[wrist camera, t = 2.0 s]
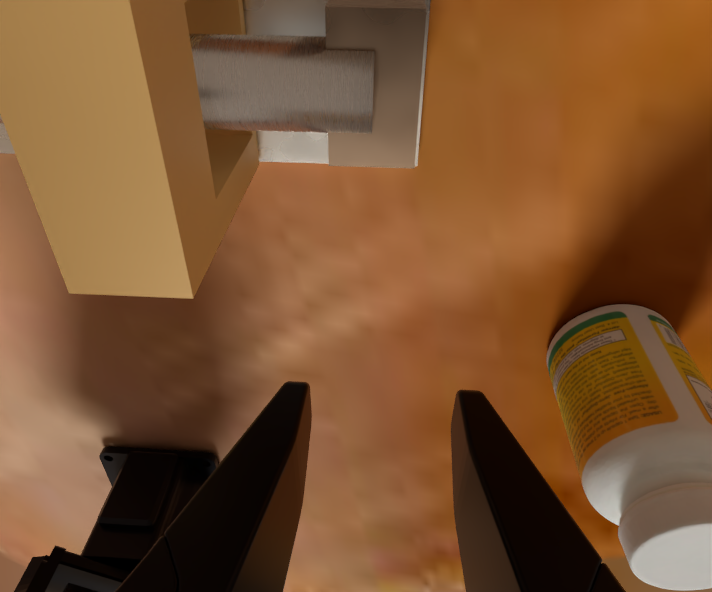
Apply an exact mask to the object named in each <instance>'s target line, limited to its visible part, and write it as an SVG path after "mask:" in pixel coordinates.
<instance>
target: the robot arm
mask: <svg viewBox="0 0 712 592" xmlns="http://www.w3.org/2000/svg"><path fill="white" fill-rule="evenodd" d="M311 418H312V415H311V398H310V386H309V384H308V383H306V382H292V381H288V382H286V383H285V384H284V385H283V386H282V387H281V388H280V389H279V391H278V392H277V393H276V394H275V396H274V397H273V398H272V399H271V401H270V402H269V403H268V404H267V406H266V407H265V408H264V409H263V411H262V412H261V413H260V414H259V416H258V417H257V418H256V419H255V421H254V422H253V423H252V424H251V425H250V427H249V428H248V429H247V430H246V432H245V433H244V434H243V435H242V437H241V438H240V439H239V440H238V442H237V443H236V444H235V445H234V447H233V448H232V449H231V450H230V452H229V453H228V454H227V455H226V457H225V458H224V459H223V460H222V461H221V463H220V464H218V460H217V457H216V456H215V455H214V454H212V453H209V452H196V451H177V450H159V449H141V448H122V447H105V448H103V450H102V452H101V454H100V460H101V462H102V464H103V467H104V469H105V471H106V473H107V476H108V478H109V480H110V482H111V485H112V488H111V490H110V492H109V495H108V497H107V499H106V501H105V503H104V505H103V507H102V509H101V511H100V514H99V516H98V519H97V521H96V524H95V526H94V528H93V530H92V532H91V534H90V536H89V538H88V541H87V543H86V545H85V547H84V549H83V551H82V553H81V555H77V554H74V553H71V552H68V551H65V550H66V549H65V548H62V547H59V546H55V547H54V549H53V551H52V553H51V555H50V556H47V555H46V556H41V557H33V558H32V559H31V561H30V563H29V565H28V567H27V569H26V571H25V572H24V574H23V576H22V578H21V580H20V582H19V584H18V585H17V587H16V589H15V591H14V592H283V588H284V584H285V580H286V575H287V571H288V567H289V562H290V558H291V554H292V549H293V545H294V541H295V536H296V532H297V528H298V523H299V519H300V514H301V509H302V503H303V496H304V487H305V478H306V469H307V459H308V450H309V440H310V431H311ZM451 447H452V474H453V501H454V515H455V523H456V530H457V537H458V543H459V549H460V556H461V562H462V568H463V575H464V581H465V587H466V592H626V591H625V590H624V589H623V587H622V586H621V585H620V583H619V582H618V580H617V579H616V578H615V576H614V575H613V573H612V572H611V571H610V569H609V568H608V566H607V565H606V564H604V563H602V564H601V562H602V559H601V557H600V556H599V554H598V553H597V551H596V550H595V549H594V547H593V546H592V544H591V543H590V542H589V540H588V539H587V537H586V536H585V535H584V533H583V532H582V530H581V529H580V528H579V526H578V525H577V524H576V522H575V521H574V519H573V518H572V517H571V515H570V514H569V512H568V511H567V510H566V508H565V507H564V505H563V504H562V503H561V501H560V500H559V498H558V497H557V496H556V494H555V493H554V492H553V490H552V489H551V487H550V486H549V485H548V483H547V482H546V480H545V479H544V478H543V476H542V475H541V473H540V472H539V471H538V469H537V468H536V466H535V465H534V464H533V462H532V461H531V460H530V458H529V457H528V455H527V454H526V453H525V451H524V450H523V448H522V447H521V446H520V444H519V443H518V441H517V440H516V439H515V437H514V436H513V434H512V433H511V432H510V430H509V429H508V427H507V426H506V425H505V423H504V422H503V421H502V419H501V418H500V416H499V415H498V414H497V412H496V411H495V409H494V408H493V407H492V405H491V404H490V402H489V401H488V400H487V398H486V397H485V395H484V394H483V393H482V392H480V391H476V390H459V391H458V392H457V394H456V398H455V404H454V410H453V416H452V422H451Z"/></svg>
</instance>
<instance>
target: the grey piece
mask: <svg viewBox="0 0 712 592" xmlns="http://www.w3.org/2000/svg"><path fill="white" fill-rule="evenodd" d="M242 2H243V12H244V21H245V31H246V35H231V34H189V36H190V42H191V48H192V55H193V61H194V67H195V73H196V79H197V85H198V92H199V98H200V104H201V110H202V116H203V123H204V129H213V130H247V131H256V136H257V146H258V155H259V161H266V162H298V163H329V166H354V167H386V168H414V167H415V166H417V163H418V150H419V138H420V125H421V112H422V100H423V87H424V75H425V62H426V50H427V37H428V25H429V12H430V0H242ZM0 153H11V154H15V151H14V149H13V146H12V144H11V141H10V138H9V136H8V133H7V131H6V128H5V125H4V123H3V120H2V118H1V115H0Z"/></svg>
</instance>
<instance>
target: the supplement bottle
mask: <svg viewBox="0 0 712 592" xmlns="http://www.w3.org/2000/svg"><path fill="white" fill-rule="evenodd" d="M547 366H548V370H549V374H550V378H551V381H552V384H553V388H554V391H555V395H556V399H557V402H558V405H559V408H560V411H561V415H562V418H563V422H564V425H565V428H566V431H567V435H568V438H569V442H570V445H571V448H572V451H573V455H574V458H575V461H576V465H577V468H578V471H579V475H580V478H581V482H582V485H583V488H584V491H585V494H586V496H587V498H588V500H589V501H590V503H591V504H592V506H593V507H594V508H595V509H596V510H597V511H598V512H599V513H600V514H601V515H602V516H603V517H605V518H606V519H608V520H609V521H611V522H613V523H614V524H617V525H619V528H618V537H619V540H620V542H621V544H622V547H623V549H624V552H625V555H626V557H627V560H628V562H629V565H630V568H631V569H632V572H633V573H634V574H635V575H636V576H637V577H638V578H639V579H640V580H642V581H644V582H645V583H647V584H650V585H653V586H655V587H659V588H663V589H670V590H702V589H708V588H712V391H711V389H710V387H709V386H708V384H707V382H706V381H705V379H704V377H703V376H702V374H701V372H700V371H699V369H698V368H697V366H696V364H695V363H694V361H693V359H692V358H691V356H690V354H689V353H688V351H687V350H686V348H685V346H684V345H683V343H682V341H681V340H680V338H679V336H678V335H677V334H676V332H675V331H674V329H673V327H672V326H671V325H670V323H669V322H668V321H667V320H666V319H665V318H664V317H662V316H661V315H660V314H658V313H657V312H655V311H653V310H650V309H648V308H645V307H642V306H637V305H629V304H616V305H608V306H603V307H599V308H596V309H593V310H591V311H589V312H586V313H583V314H581V315H579V316H577V317H575V318H574V319H572V320H570V321H569V322H568V323H566V324H565V325H564V326H563V327H562V328H561V329H560V330H559V331H558V332H557V333H556V335H555V336H554V338H553V339H552V341H551V343H550V346H549V349H548V352H547Z"/></svg>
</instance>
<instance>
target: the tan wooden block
mask: <svg viewBox="0 0 712 592" xmlns="http://www.w3.org/2000/svg"><path fill="white" fill-rule="evenodd" d="M189 34H231V35H246V31H245V21H244V12H243V2H242V0H0V115H1V118H2V120H3V123H4V125H5V128H6V131H7V133H8V136H9V138H10V141H11V144H12V146H13V149H14V151H15V154H16V157H17V159H18V162H19V165H20V167H21V170H22V172H23V175H24V178H25V180H26V183H27V185H28V188H29V191H30V193H31V196H32V198H33V201H34V204H35V206H36V209H37V211H38V214H39V217H40V219H41V222H42V224H43V227H44V230H45V232H46V235H47V237H48V240H49V243H50V245H51V248H52V251H53V253H54V256H55V258H56V261H57V264H58V266H59V269H60V271H61V274H62V277H63V279H64V282H65V284H66V287H67V290H68V292H69V293H71V294H94V295H118V296H142V297H165V298H189V299H193V298H194V296H195V294H196V292H197V290H198V288H199V286H200V284H201V282H202V280H203V278H204V276H205V274H206V272H207V270H208V268H209V266H210V264H211V261H212V259H213V257H214V255H215V253H216V251H217V249H218V247H219V245H220V243H221V241H222V239H223V237H224V235H225V233H226V231H227V229H228V227H229V225H230V223H231V221H232V219H233V217H234V214H235V212H236V210H237V208H238V206H239V204H240V202H241V200H242V198H243V196H244V194H245V192H246V190H247V188H248V186H249V184H250V182H251V180H252V178H253V176H254V174H255V172H256V169H257V167H258V165H259V155H258V146H257V136H256V131H247V130H213V129H204V123H203V116H202V110H201V104H200V98H199V92H198V85H197V79H196V73H195V67H194V61H193V55H192V48H191V42H190V36H189Z"/></svg>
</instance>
